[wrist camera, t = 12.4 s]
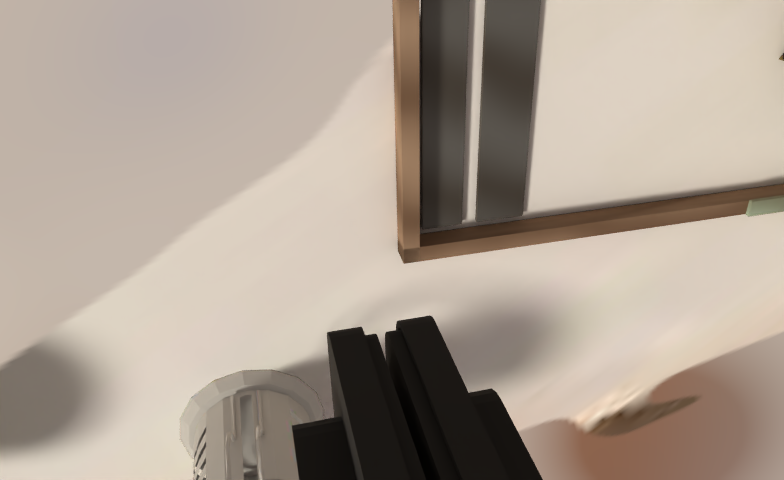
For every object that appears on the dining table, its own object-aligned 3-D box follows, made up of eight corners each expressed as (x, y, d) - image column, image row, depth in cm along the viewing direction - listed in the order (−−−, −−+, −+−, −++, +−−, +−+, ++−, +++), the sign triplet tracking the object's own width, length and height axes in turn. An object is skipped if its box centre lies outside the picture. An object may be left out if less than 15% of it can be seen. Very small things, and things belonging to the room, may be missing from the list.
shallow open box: (389, -160, 31) (410, -160, 28) (978, -177, 37) (1055, -179, 34) (398, 251, 42) (414, 287, 39) (848, 187, 48) (896, 213, 45)
